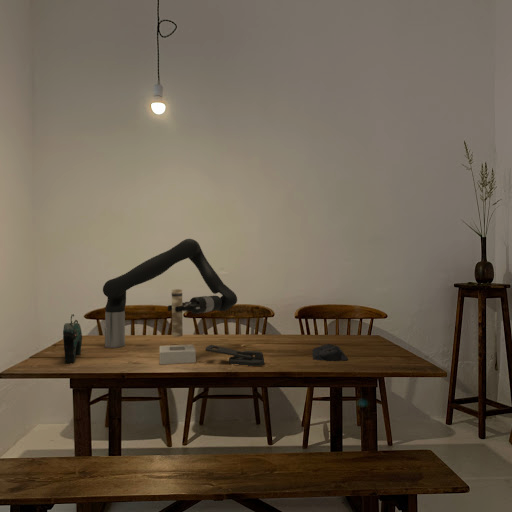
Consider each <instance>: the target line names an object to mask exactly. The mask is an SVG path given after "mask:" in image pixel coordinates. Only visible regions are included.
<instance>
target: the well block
mask: <svg viewBox="0 0 512 512" xmlns="http://www.w3.org/2000/svg"><path fill="white" fill-rule="evenodd" d="M196 351H197V350H196V348H195V344H179V345H178V344H177V345H176V344H174V345H159V365H175V364H178V363H180V364H195V363H197V362H196V360H197V359H196V357H197V356H196V355H197V354H196ZM178 365H179V364H178Z"/></svg>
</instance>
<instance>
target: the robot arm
mask: <svg viewBox="0 0 512 512" xmlns="http://www.w3.org/2000/svg"><path fill="white" fill-rule="evenodd" d="M186 259H189V260H190V261H191V262H192V263H193V265H194V266H195V267H196V269H197V270H198V272H199V274H200V275H201V278H202V279H203V281H204V283H205V285H207V287H208V289H209V290H210V291H211V293H212V294H215V295H203V296H195V297H192V298H191V299H190V300H189V301H185V302H182V306H177V307H175V311H176V312H180V311H182V312H186V313H188V312H191V313H192V314H194V315H196V314H197V315H198V314H204V313H209V312H213V311H217V312H225V311H228V310H230V309H231V308H232V307H234V306H235V305H236V304H237V302H238V296H237V294H236V293H235V292H234V291H233V290H232V289H231V288H230V287H228V286H227V285H226V284H225V283H224V282H223V280H222V279H221V278H220V276H219V275H218V273H217V272H216V271H215V269H214V268H213V267H212V265H211V264H210V262H209V261H208V260H207V258H206V256H205V255H204V252H203V250H202V248H201V245H200V244H199V242H198V241H197V240H195V239H193V238H186V239H184V240H182V241H181V242H179V243H178V244H176V245H174V246H173V247H171V248H170V249H168V250H166V251H163V252H162V253H159V254H157V255H155V256H153V257H151V258H149V259H147V260H145V261H144V262H141V263H140V264H138V265H136V266H135V267H133V268H132V269H129V271H127V272H126V273H124V274H121V275H120V276H117V277H115V278H114V277H113V278H111V279H109V280H107V281H106V282H105V283H104V285H103V287H102V293H103V295H104V296H105V297H107V301H106V305H105V307H104V308H105V309H104V310H105V313H104V315H105V317H104V319H105V321H104V323H105V326H104V327H105V328H104V348H108V349H109V348H111V349H113V348H116V349H117V348H122V347H125V346H126V329H125V328H126V327H125V326H126V320H125V319H126V313H125V312H126V305H127V304H126V303H127V291H128V290H130V289H132V288H133V287H135V286H138V285H141V284H144V283H146V282H149V281H152V280H153V279H156V278H157V277H159V276H161V275H162V274H164V273H165V272H166V271H168V270H169V269H170V268H171V267H173V266H174V265H175V264H177V263H180V262H182V261H184V260H186ZM216 294H220V295H221V296H219V295H216ZM167 311H169V312H170V311H171V312H172V304H171V305H168V306H167Z"/></svg>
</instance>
